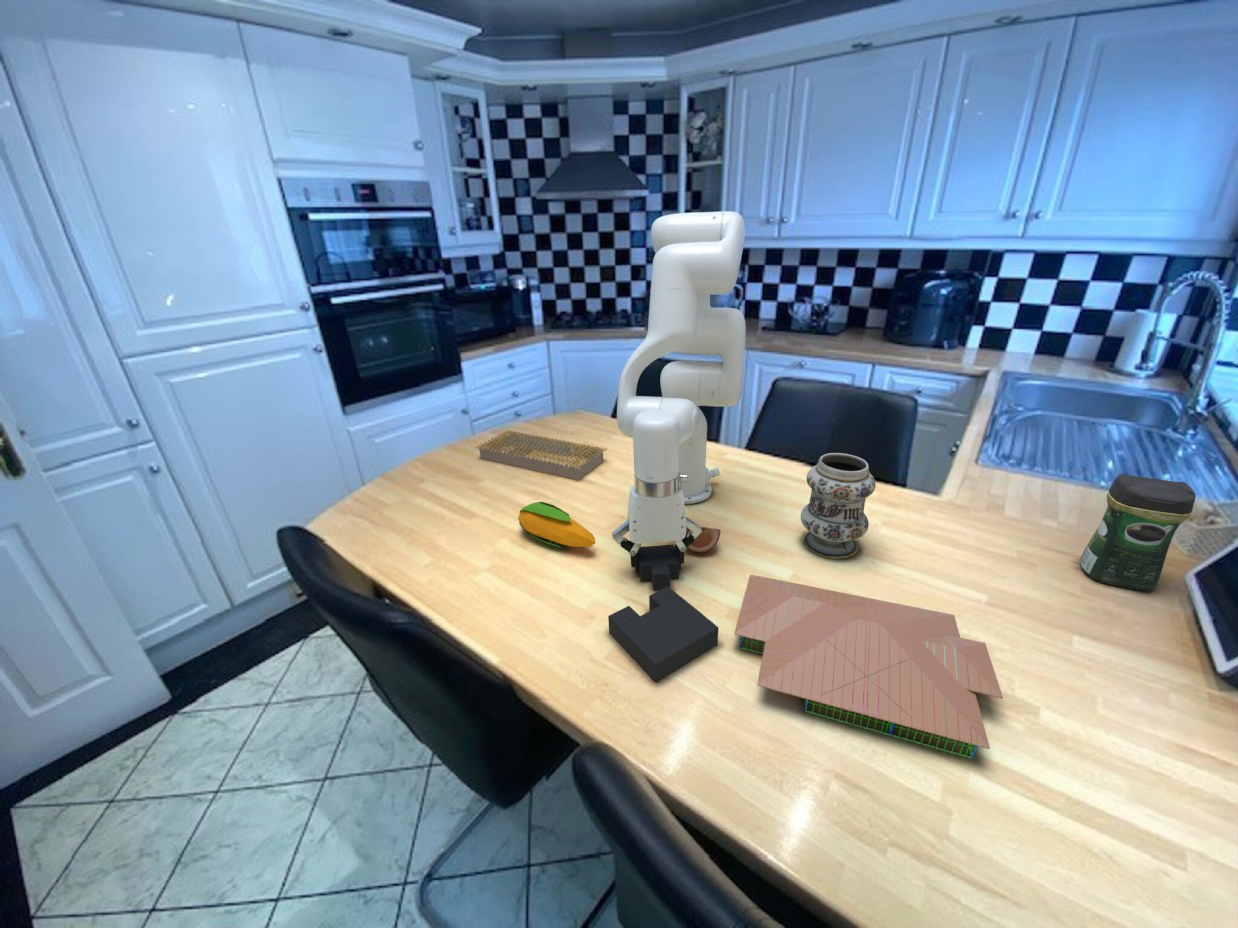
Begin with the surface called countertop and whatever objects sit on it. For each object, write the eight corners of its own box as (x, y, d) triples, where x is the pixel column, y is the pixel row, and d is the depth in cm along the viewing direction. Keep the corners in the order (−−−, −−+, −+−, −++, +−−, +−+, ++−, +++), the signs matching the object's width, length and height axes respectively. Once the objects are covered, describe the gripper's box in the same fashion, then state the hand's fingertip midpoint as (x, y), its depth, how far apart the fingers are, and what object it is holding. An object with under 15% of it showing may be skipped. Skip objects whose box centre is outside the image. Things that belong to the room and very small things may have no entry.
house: (1011, 775, 58) (1033, 726, 54) (721, 692, 69) (724, 648, 66) (970, 635, 77) (984, 593, 73) (748, 589, 88) (752, 550, 85)
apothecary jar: (864, 534, 102) (880, 453, 94) (862, 568, 92) (880, 481, 84) (801, 523, 107) (811, 444, 99) (793, 554, 97) (804, 470, 89)
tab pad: (673, 559, 97) (673, 544, 96) (681, 588, 89) (681, 572, 88) (637, 562, 97) (636, 546, 95) (642, 591, 89) (641, 575, 87)
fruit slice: (673, 553, 99) (673, 532, 97) (680, 535, 105) (680, 514, 102) (716, 560, 96) (717, 538, 94) (721, 540, 102) (722, 519, 100)
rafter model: (476, 458, 144) (472, 439, 141) (509, 440, 155) (506, 422, 152) (579, 482, 128) (577, 460, 125) (608, 460, 139) (606, 439, 137)
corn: (531, 489, 109) (605, 514, 98) (537, 518, 113) (609, 545, 102) (506, 506, 104) (582, 534, 93) (513, 536, 107) (586, 566, 97)
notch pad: (667, 602, 86) (667, 585, 85) (717, 644, 77) (718, 627, 76) (609, 632, 80) (607, 615, 79) (655, 682, 71) (655, 664, 70)
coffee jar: (1143, 570, 89) (1190, 475, 81) (1159, 597, 82) (1212, 497, 74) (1073, 556, 93) (1110, 465, 85) (1083, 580, 87) (1125, 485, 79)
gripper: (701, 469, 90) (699, 552, 98) (604, 476, 89) (609, 559, 97) (711, 489, 83) (708, 576, 91) (606, 496, 83) (611, 584, 90)
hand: (657, 566), depth 94 cm, fingers closed on tab pad, 7 cm apart
